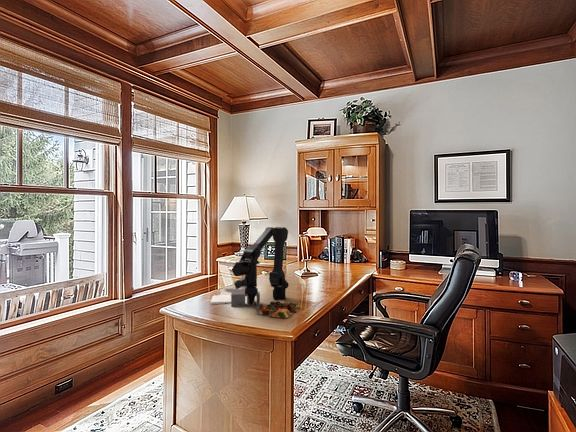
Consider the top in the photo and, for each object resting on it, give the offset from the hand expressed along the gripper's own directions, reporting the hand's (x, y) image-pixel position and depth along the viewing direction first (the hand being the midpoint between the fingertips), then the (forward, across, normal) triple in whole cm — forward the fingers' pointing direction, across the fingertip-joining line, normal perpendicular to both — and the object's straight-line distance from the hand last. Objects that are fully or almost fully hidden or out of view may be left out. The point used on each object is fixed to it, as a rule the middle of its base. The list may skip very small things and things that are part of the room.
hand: (251, 304), depth 176 cm
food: (+2, +8, +14) cm, 16 cm away
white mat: (+2, -15, -15) cm, 21 cm away
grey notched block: (+2, -5, -3) cm, 6 cm away
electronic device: (+2, -35, -8) cm, 36 cm away
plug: (+2, -7, 0) cm, 7 cm away
